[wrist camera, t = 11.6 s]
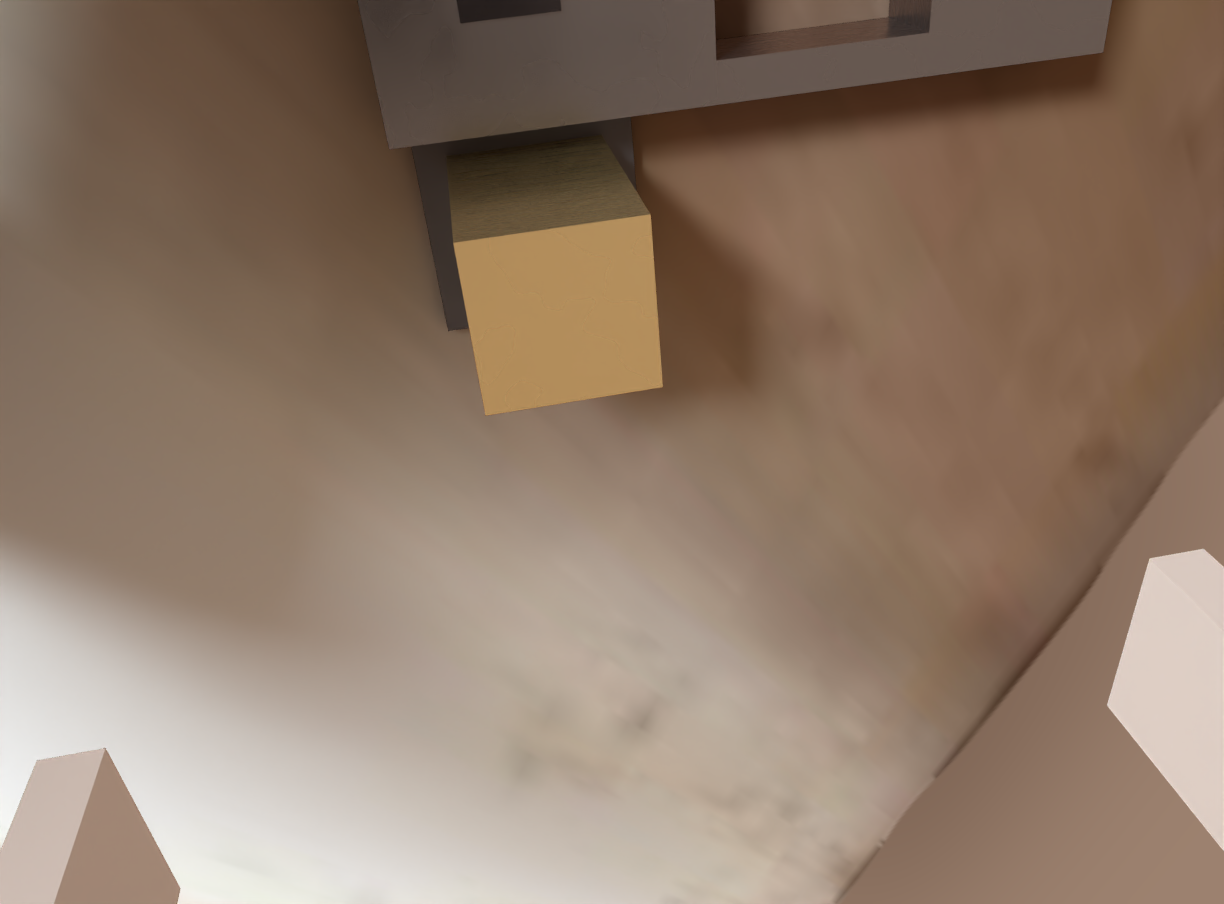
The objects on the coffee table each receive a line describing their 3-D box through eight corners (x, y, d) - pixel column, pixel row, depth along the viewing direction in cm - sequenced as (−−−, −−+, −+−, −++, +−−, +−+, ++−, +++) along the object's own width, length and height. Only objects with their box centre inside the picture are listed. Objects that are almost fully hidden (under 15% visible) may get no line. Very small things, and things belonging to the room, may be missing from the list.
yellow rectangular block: (472, 301, 34) (485, 415, 27) (446, 156, 31) (452, 242, 24) (615, 279, 34) (663, 387, 27) (601, 134, 31) (650, 214, 25)
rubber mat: (447, 323, 35) (448, 331, 34) (407, 122, 31) (407, 126, 30) (641, 294, 35) (644, 300, 35) (625, 93, 31) (629, 96, 31)
